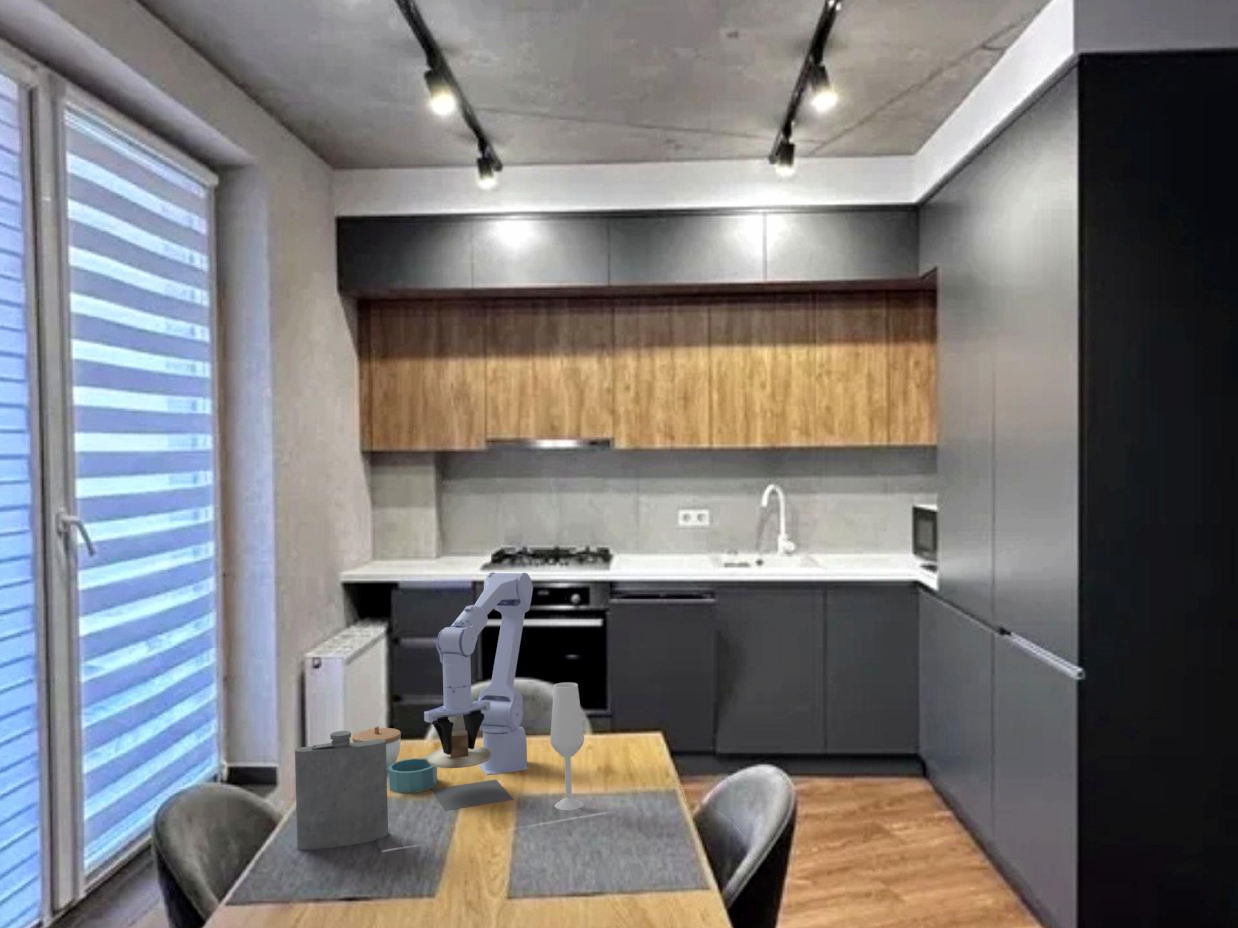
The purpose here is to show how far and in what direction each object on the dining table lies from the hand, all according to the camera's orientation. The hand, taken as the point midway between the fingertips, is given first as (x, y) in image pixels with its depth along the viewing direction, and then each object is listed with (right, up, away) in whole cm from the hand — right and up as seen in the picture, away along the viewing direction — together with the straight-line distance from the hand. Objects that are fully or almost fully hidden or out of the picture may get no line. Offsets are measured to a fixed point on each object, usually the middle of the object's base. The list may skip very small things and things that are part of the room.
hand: (458, 750), depth 197 cm
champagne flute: (+23, -8, -9) cm, 27 cm away
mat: (+3, -9, -2) cm, 10 cm away
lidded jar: (-22, -10, +20) cm, 31 cm away
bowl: (-11, -9, +6) cm, 15 cm away
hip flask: (-17, -9, -25) cm, 31 cm away
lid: (0, -2, 0) cm, 2 cm away
